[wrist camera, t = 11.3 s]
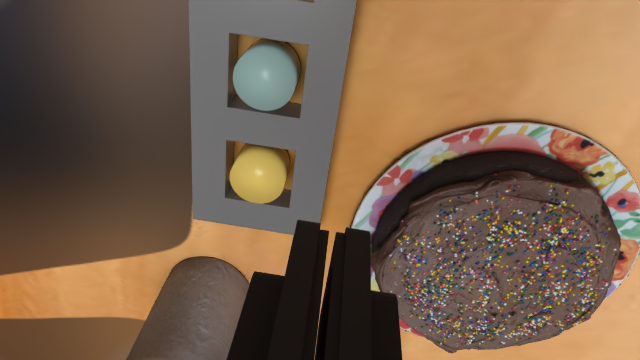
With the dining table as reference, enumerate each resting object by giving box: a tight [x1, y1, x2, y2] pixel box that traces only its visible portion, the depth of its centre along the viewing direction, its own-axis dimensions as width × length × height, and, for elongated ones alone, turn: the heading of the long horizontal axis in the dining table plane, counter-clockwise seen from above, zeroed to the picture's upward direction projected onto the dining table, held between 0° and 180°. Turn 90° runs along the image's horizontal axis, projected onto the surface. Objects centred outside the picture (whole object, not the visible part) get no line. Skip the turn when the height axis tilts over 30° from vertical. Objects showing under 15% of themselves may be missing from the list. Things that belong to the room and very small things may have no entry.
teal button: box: [233, 38, 301, 111], centre depth 36 cm, size 5×5×3 cm
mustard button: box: [230, 143, 290, 204], centre depth 41 cm, size 5×5×3 cm
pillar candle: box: [126, 257, 249, 360], centre depth 46 cm, size 10×10×15 cm
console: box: [189, 0, 357, 235], centre depth 37 cm, size 12×30×3 cm, turn 172°
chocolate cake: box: [350, 121, 640, 353], centre depth 43 cm, size 28×28×7 cm
